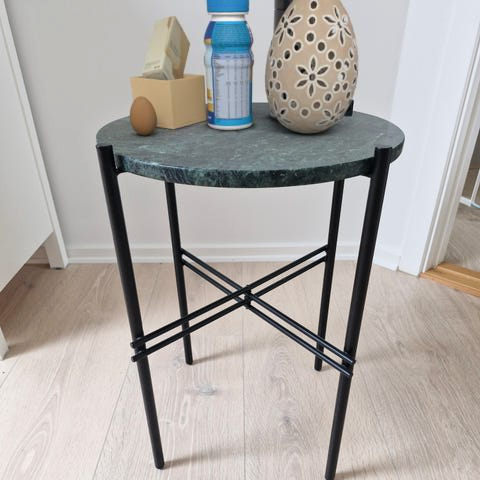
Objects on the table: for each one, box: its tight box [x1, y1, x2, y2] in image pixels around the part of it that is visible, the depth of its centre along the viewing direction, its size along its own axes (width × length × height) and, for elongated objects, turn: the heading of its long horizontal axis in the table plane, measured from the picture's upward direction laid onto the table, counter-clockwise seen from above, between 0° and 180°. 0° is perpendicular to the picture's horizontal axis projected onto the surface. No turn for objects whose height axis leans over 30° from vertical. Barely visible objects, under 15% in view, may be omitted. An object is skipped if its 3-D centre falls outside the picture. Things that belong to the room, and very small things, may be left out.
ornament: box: [264, 0, 359, 135], centre depth 71 cm, size 15×15×20 cm
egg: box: [129, 96, 157, 137], centre depth 74 cm, size 4×4×6 cm
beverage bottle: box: [203, 0, 255, 131], centre depth 76 cm, size 8×8×20 cm
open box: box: [129, 73, 207, 130], centre depth 83 cm, size 9×9×8 cm
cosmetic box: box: [141, 15, 191, 81], centre depth 82 cm, size 6×4×12 cm
